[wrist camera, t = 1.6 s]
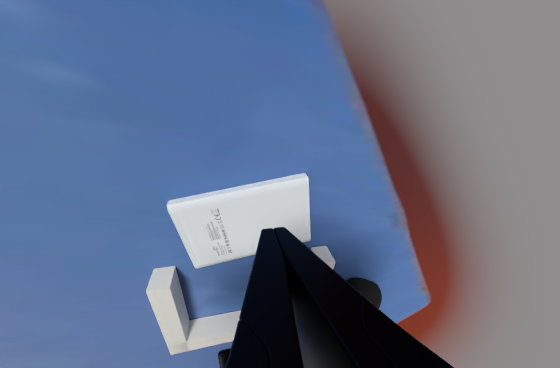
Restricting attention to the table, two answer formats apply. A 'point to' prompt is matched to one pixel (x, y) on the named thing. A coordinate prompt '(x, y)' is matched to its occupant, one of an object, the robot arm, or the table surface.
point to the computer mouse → (367, 290)
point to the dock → (175, 316)
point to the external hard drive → (240, 218)
